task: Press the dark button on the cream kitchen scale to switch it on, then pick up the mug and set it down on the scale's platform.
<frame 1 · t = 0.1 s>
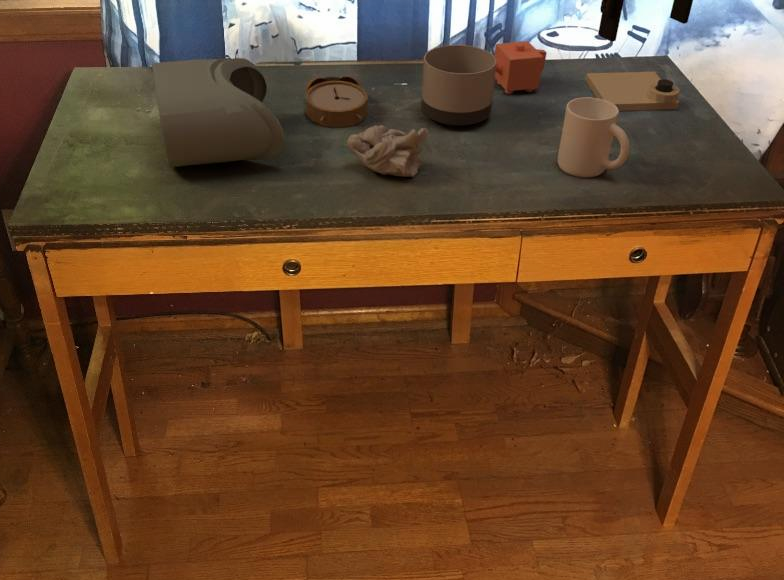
hand: (643, 29, 119), 27 cm above the table, tool pointing down, fingers open, 13 cm apart
mug: (590, 171, 144), on the table
scale: (630, 94, 166), on the table
alarm clock: (335, 110, 159), on the table
orange footed box: (511, 87, 168), on the table
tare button: (664, 86, 161), point 3 cm above the table, slide at 0.1 cm
planter: (455, 116, 158), on the table
grey curved shell: (222, 147, 148), on the table
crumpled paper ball: (390, 170, 143), on the table
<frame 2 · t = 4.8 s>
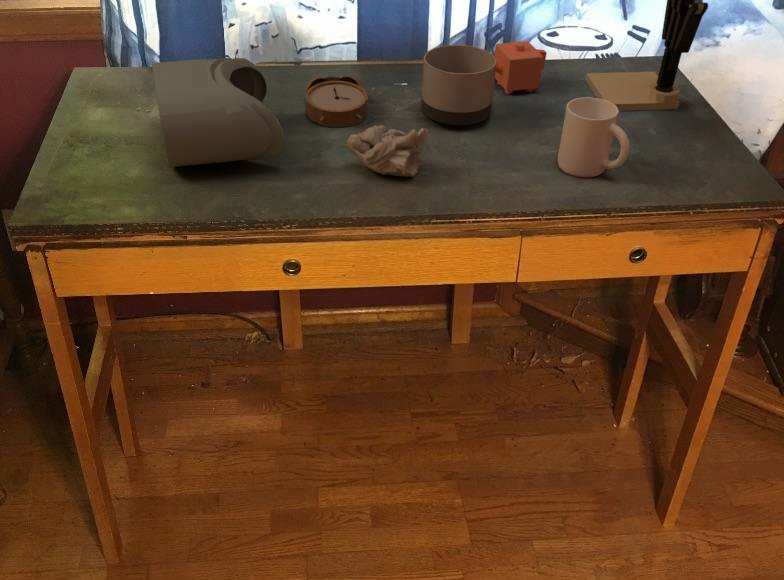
hand: (664, 84, 161), 4 cm above the table, tool pointing down, fingers closed
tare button: (663, 90, 161), point 3 cm above the table, slide at -0.6 cm, touching gripper
everything else where it was.
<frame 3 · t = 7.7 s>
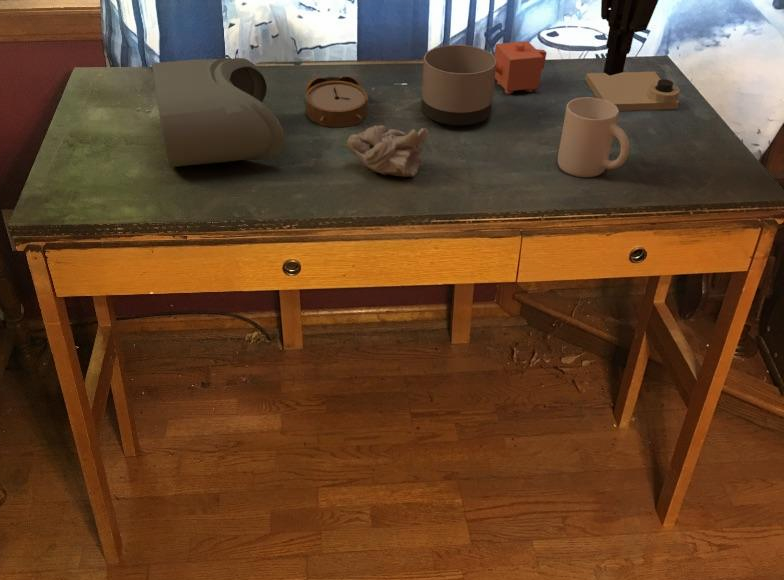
hand: (613, 72, 134), 16 cm above the table, tool pointing down, fingers closed
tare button: (664, 86, 161), point 3 cm above the table, slide at 0.1 cm
everything else where it was.
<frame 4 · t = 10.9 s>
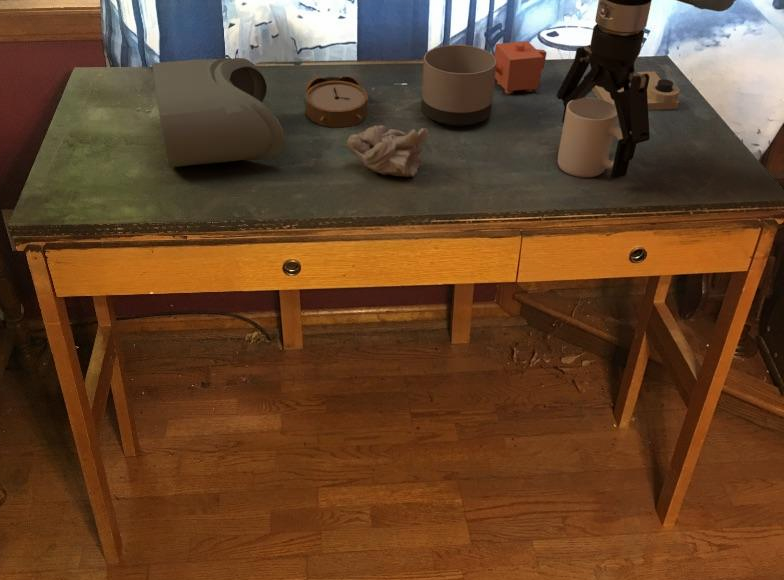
hand: (592, 160, 143), 2 cm above the table, tool pointing down, fingers closed on mug, 12 cm apart
mug: (590, 171, 144), on the table, touching gripper
everything else where it was.
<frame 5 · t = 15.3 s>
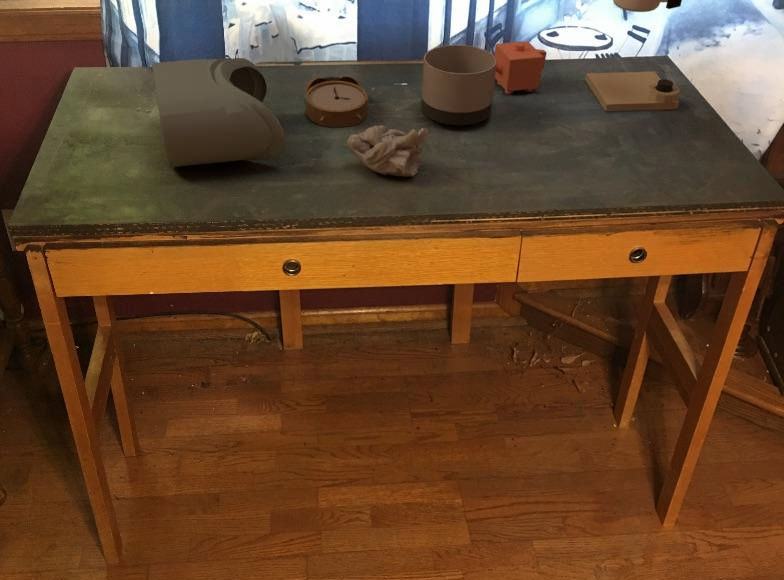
mug: (644, 8, 151), point 17 cm above the table, touching gripper
everything else where it was.
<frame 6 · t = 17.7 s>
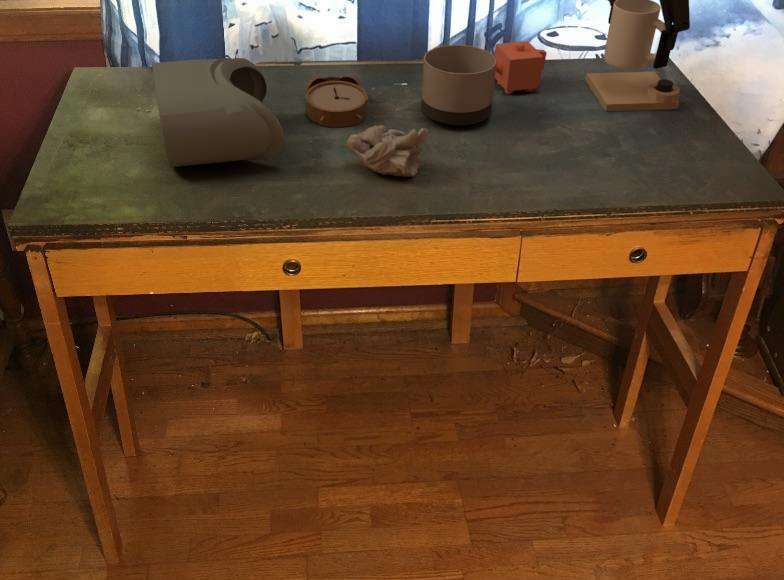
hand: (635, 54, 159), 8 cm above the table, tool pointing down, fingers closed on mug, 12 cm apart
mug: (633, 66, 160), point 6 cm above the table, touching gripper
everything else where it was.
when the fingers open (3 cm above the table, at t = 19.8 s): mug stays where it is, resting on scale.
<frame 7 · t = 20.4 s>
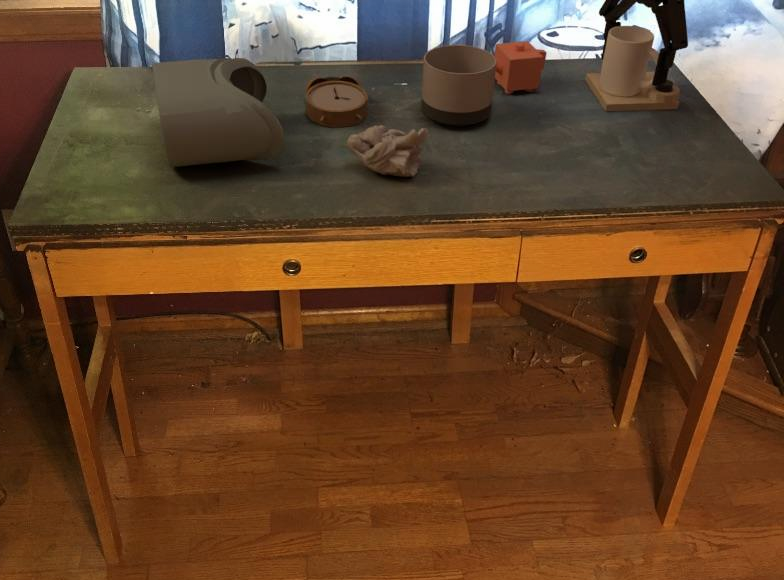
hand: (632, 70, 161), 5 cm above the table, tool pointing down, fingers open, 13 cm apart
mug: (627, 92, 164), point 1 cm above the table, touching scale
everything else where it was.
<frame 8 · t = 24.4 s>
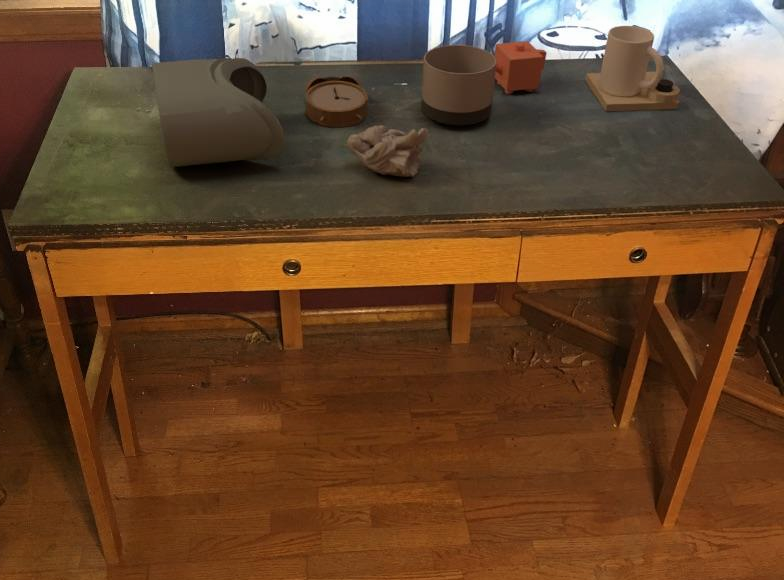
nothing on the table moved.
at the end: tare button pushed in 0.8 cm at the most during the clip, back to where it started at the end; mug inside the target area on the scale (0.8 cm from its centre), point 1.2 cm above the scale's base; mug tilted 0° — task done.
